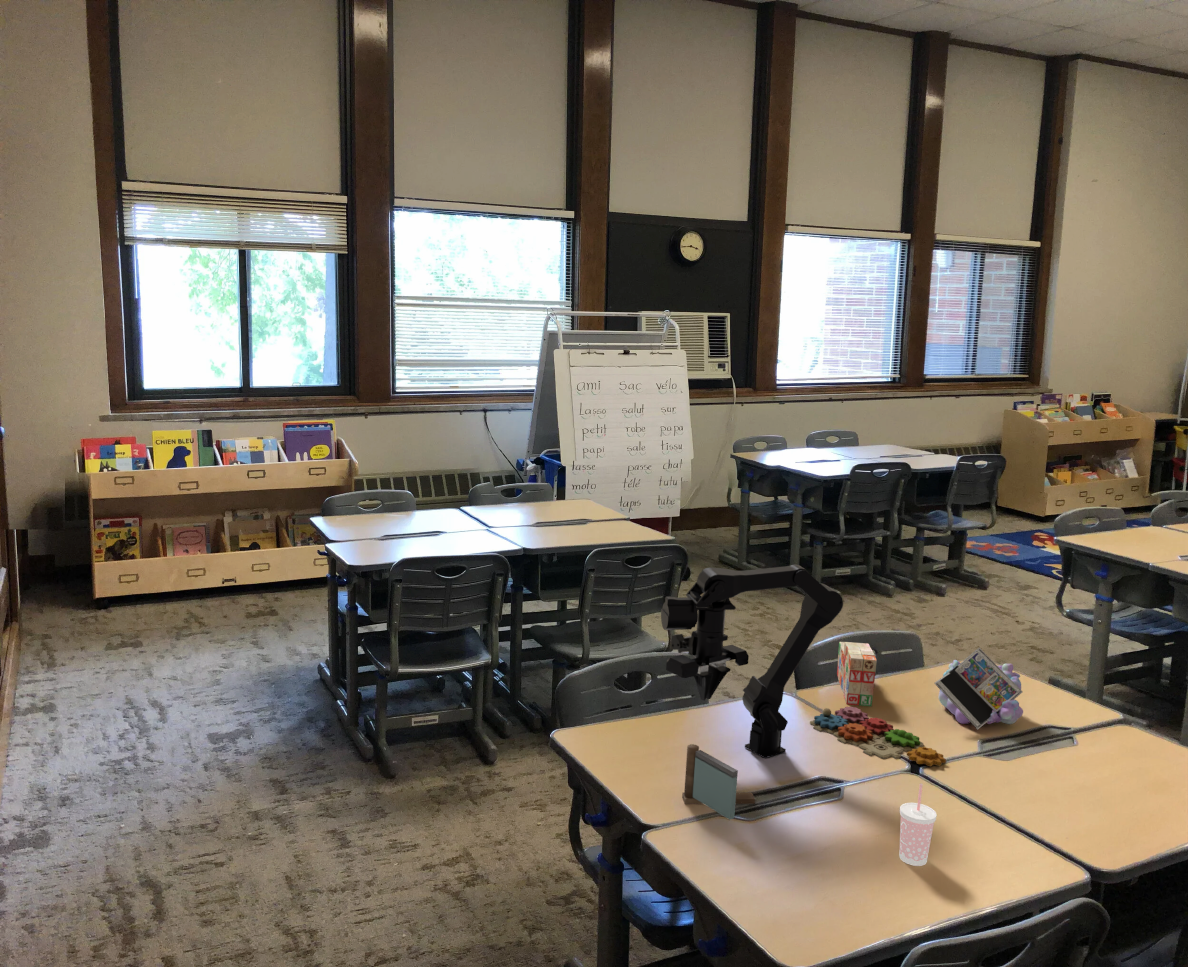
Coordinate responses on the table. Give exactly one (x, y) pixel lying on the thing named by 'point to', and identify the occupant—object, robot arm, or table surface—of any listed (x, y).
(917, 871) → the table surface
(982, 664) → the bubbly comic picture frame
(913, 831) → the beverage cup
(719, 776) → the panel
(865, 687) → the stack of blocks
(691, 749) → the brown l-shaped piece
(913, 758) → the gear puzzle
